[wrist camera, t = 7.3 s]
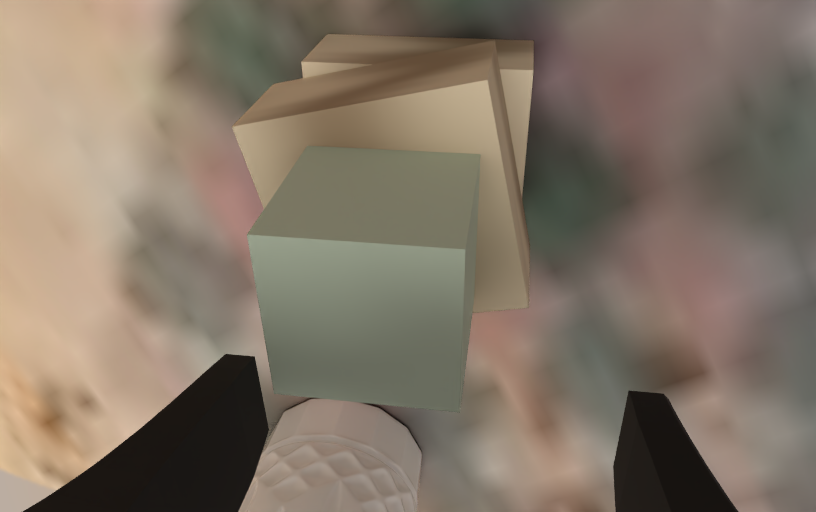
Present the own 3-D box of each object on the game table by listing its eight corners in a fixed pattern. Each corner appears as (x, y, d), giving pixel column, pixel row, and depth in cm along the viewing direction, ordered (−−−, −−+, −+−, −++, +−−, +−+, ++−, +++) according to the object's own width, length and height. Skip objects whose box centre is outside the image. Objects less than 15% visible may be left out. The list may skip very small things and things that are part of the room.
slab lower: (533, 37, 20) (533, 70, 17) (517, 219, 23) (515, 269, 20) (329, 31, 20) (301, 62, 18) (342, 207, 24) (319, 254, 21)
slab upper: (494, 40, 17) (487, 80, 14) (529, 245, 20) (529, 307, 17) (272, 84, 18) (231, 126, 16) (336, 268, 21) (310, 328, 19)
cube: (480, 154, 15) (465, 249, 12) (474, 298, 17) (459, 412, 14) (307, 145, 16) (246, 234, 12) (322, 286, 18) (274, 393, 15)
